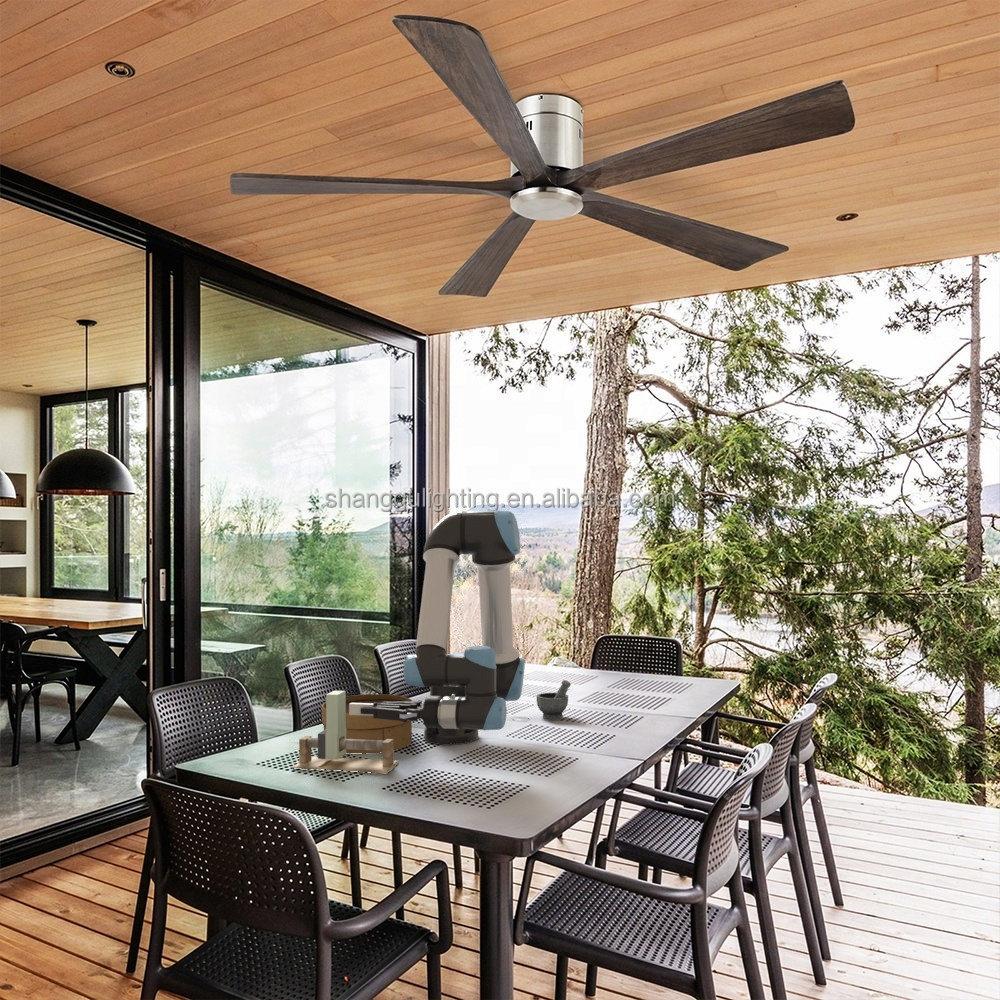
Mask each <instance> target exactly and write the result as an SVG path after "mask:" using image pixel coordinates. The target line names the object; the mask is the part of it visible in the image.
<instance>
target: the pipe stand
mask: <svg viewBox="0 0 1000 1000" xmlns="http://www.w3.org/2000/svg"><path fill="white" fill-rule="evenodd" d="M298 740H299V742H298V743H299V744H298V745H299V747H298V750H299V752H298V753H299V754H298V757H299V758H298V763H297V764H295V765H293V766H292V769H293V768H304V769H326V770H343V771H359V772H371V773H386V774H385V775H388V774H389V773H390V772H391V771H392V770H393V769H395V768H396V767H397V766H396V765H399V763H400V760H398V759H397V760H396V759H394V757H395V756H394V754H395V753H394V752H395V751H394V739H386V740H359V739H339V749H353V750H377V751H382V753H381V754H382V759H379V758H378V759H373V758H356V757H355V758H351V757H340V758H339V759H337V760H336V759H318V756H312V748H314V749H318V737H312V735H304V736H303V737H301V738H299V739H298ZM391 769H392V770H391ZM390 770H391V771H390ZM389 771H390V772H389ZM388 772H389V773H388ZM371 773H370V774H371ZM387 773H388V774H387Z"/></svg>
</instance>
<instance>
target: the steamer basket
mask: <svg viewBox="0 0 1000 1000" xmlns="http://www.w3.org/2000/svg"><path fill="white" fill-rule="evenodd" d="M384 701H385V702H401V701H413V700H412V699H411V698H409V697H405V696H402V695H396V694H395V695H394V694H387V693H386V694H384V693H383V694H382V693H381V694H380V693H379V694H377V693H373V694H370V693H368V694H367V693H366V694H356V695H355V694H354V695H346V739H359V740H386V739H394V752H395V751H397V750H401V749H404V748H406V747H408V746H409V745H410V744H412V741H413V738H412V737H413V736H412V732H413V731H412V730H413V729H412V728H413V726H412V725H413V724H412V722H413V721H410V720H407V722H402V721H397V720H387V719H377V718H376V719H375V718H373V716H363V715H349V704H350V703H374V702H377V704H378V703H382V702H384ZM321 723H322V726H323V731H324V730H325V729H326V701H325V702H323V704H321ZM380 752H382V751H377V750H353V749H346V753H362V754H361V755H367V754H366V753H376V754H381V753H380Z"/></svg>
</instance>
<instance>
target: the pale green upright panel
mask: <svg viewBox="0 0 1000 1000" xmlns="http://www.w3.org/2000/svg"><path fill="white" fill-rule="evenodd" d="M346 691H347V690H333V691H330V692H329V693H326V696H325V698H326V699H325V702H326V734H325V759H336V760H337V759H339V758H342V757H343V756H345V755H347V754H346V749H339V739H346V696H347V695H346Z"/></svg>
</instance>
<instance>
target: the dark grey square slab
mask: <svg viewBox="0 0 1000 1000" xmlns="http://www.w3.org/2000/svg"><path fill="white" fill-rule="evenodd" d="M325 734H326V729H325V730H324V729H323V730H322V731H320V732H319V733H317V738H318V748H317V757H318V759H325Z"/></svg>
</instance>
